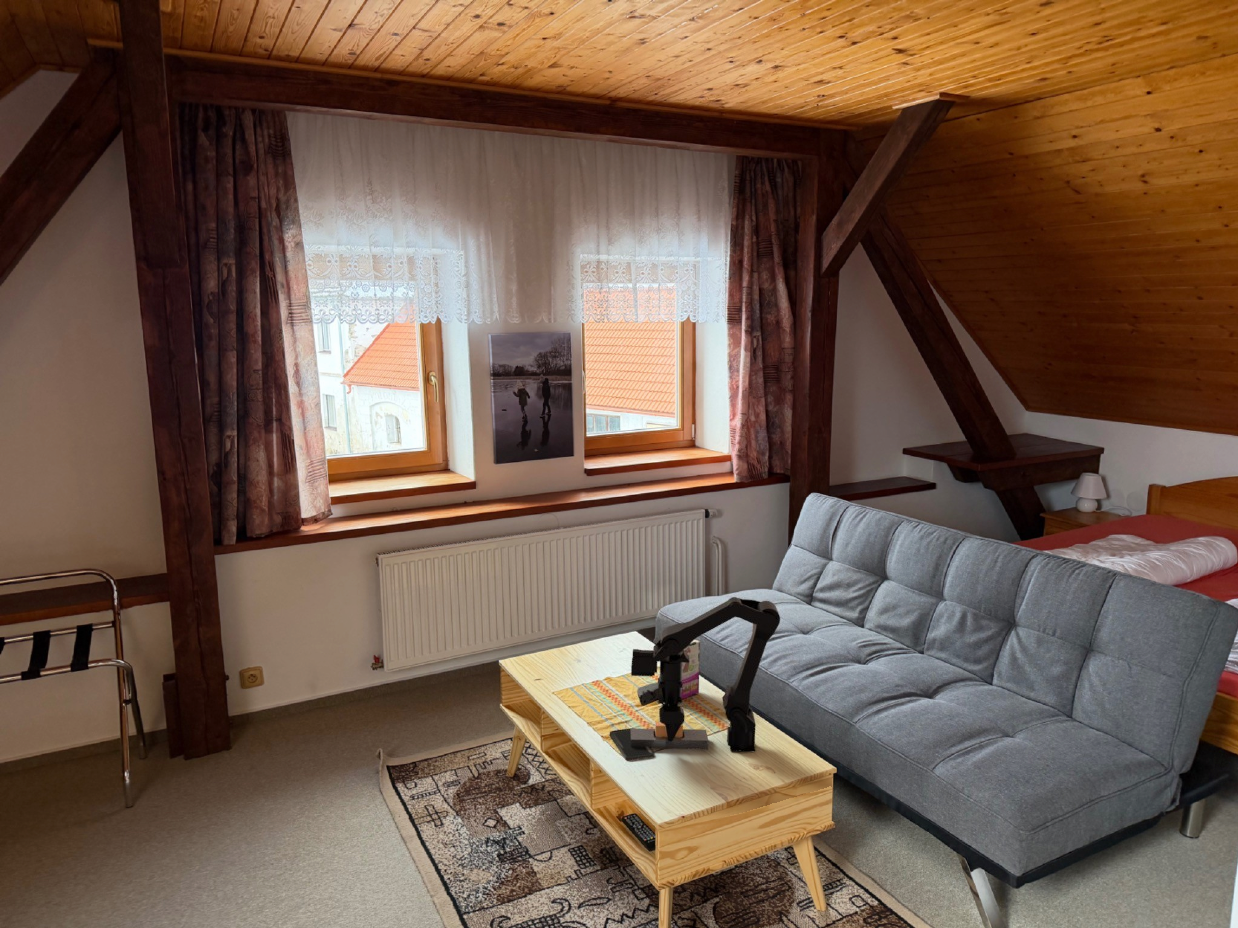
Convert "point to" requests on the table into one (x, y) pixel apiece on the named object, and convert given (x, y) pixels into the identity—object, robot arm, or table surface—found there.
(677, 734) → the clip
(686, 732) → the rail
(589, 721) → the table surface
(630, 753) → the phone
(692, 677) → the candy bar box
